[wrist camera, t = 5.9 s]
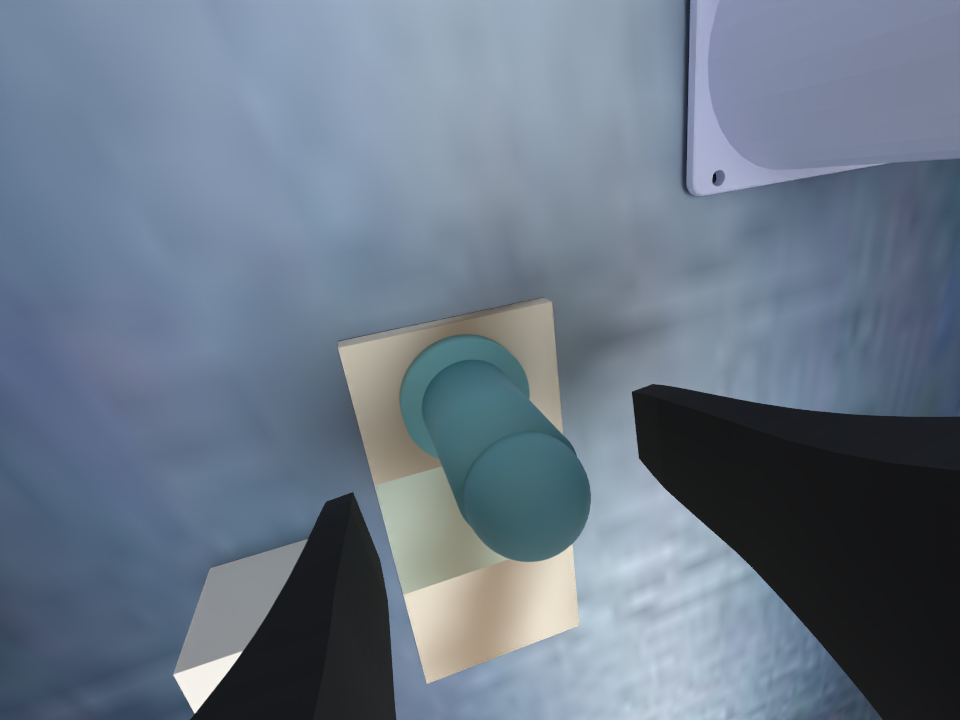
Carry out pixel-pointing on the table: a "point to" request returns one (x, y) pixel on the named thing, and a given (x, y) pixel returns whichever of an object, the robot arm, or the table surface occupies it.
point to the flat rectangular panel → (433, 509)
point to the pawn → (495, 447)
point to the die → (230, 617)
